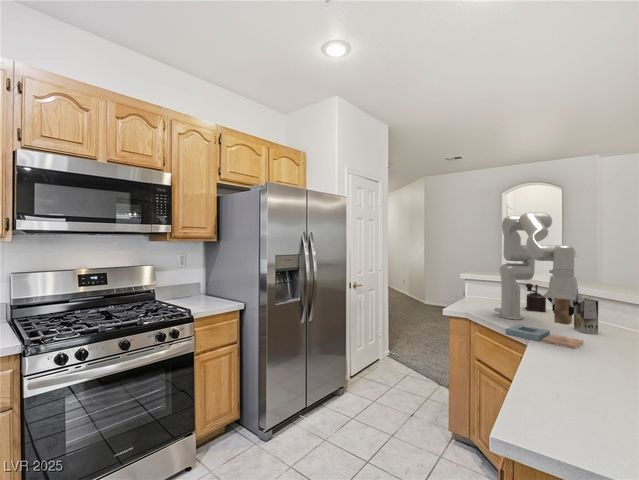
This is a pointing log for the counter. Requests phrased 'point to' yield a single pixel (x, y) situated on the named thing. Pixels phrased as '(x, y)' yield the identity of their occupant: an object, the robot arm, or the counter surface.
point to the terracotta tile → (563, 341)
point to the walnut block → (562, 312)
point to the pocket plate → (527, 332)
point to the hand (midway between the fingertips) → (563, 313)
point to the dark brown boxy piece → (535, 300)
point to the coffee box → (586, 316)
